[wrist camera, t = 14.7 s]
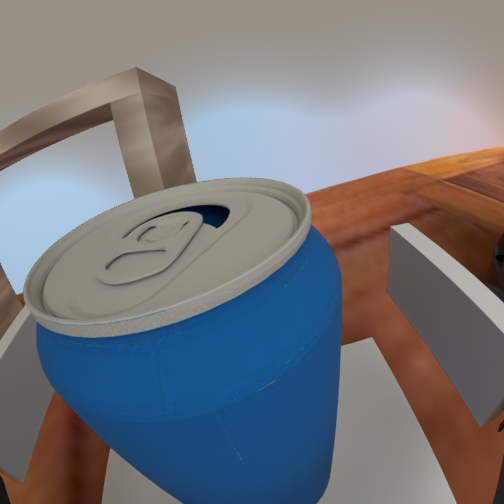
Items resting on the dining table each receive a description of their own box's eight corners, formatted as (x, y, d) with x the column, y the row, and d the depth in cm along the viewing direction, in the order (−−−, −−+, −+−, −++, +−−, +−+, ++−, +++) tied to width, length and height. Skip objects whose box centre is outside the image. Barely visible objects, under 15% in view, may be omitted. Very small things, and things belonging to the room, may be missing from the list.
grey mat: (371, 342, 17) (372, 337, 17) (465, 538, 5) (470, 537, 5) (127, 387, 17) (124, 382, 17) (101, 587, 5) (95, 586, 5)
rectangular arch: (219, 270, 29) (175, 86, 21) (221, 365, 18) (136, 67, 10) (16, 309, 29) (-37, 183, 21) (-27, 375, 18) (-107, 224, 10)
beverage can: (332, 417, 13) (326, 162, 7) (324, 538, 7) (369, 369, 2) (208, 413, 14) (115, 194, 9) (174, 519, 9) (-42, 320, 3)
